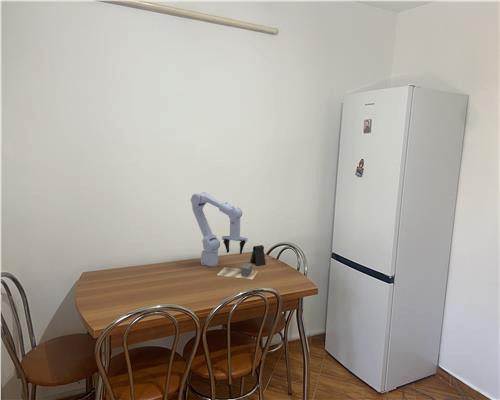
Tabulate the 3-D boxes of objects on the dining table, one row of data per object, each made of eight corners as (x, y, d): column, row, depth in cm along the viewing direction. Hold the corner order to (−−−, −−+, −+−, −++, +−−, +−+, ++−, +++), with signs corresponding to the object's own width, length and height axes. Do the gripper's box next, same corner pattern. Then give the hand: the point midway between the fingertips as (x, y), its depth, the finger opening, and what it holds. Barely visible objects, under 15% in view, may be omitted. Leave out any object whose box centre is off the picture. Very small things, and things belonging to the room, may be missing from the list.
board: (216, 276, 198) (216, 275, 198) (224, 268, 211) (224, 267, 211) (252, 281, 193) (252, 279, 193) (258, 272, 207) (258, 270, 207)
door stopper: (266, 266, 218) (266, 247, 216) (257, 268, 215) (258, 248, 213) (257, 262, 225) (258, 243, 224) (249, 263, 222) (250, 244, 220)
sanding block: (241, 275, 198) (241, 267, 197) (244, 271, 205) (245, 263, 205) (248, 276, 197) (248, 268, 196) (251, 272, 204) (252, 264, 204)
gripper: (220, 230, 203) (220, 253, 205) (245, 232, 200) (244, 256, 202) (224, 227, 210) (223, 250, 212) (248, 229, 207) (248, 252, 209)
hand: (234, 252), depth 207 cm, fingers open, 7 cm apart
